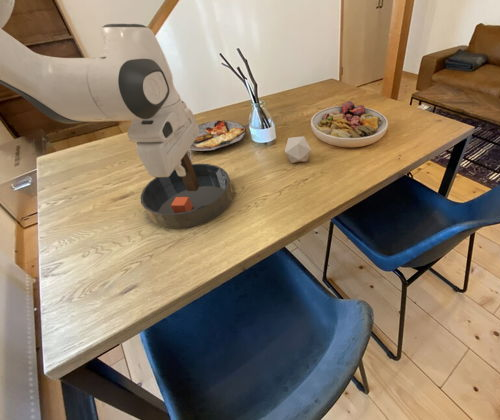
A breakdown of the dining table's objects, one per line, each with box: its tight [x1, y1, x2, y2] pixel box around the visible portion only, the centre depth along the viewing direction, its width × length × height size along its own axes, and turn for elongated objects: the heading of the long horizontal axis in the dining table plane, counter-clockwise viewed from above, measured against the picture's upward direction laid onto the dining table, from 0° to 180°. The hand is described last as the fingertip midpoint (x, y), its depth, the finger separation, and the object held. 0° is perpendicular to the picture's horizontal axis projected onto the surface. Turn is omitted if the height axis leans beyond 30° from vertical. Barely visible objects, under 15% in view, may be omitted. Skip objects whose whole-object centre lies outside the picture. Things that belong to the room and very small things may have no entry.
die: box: [284, 135, 312, 164], centre depth 93 cm, size 8×9×10 cm
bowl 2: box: [310, 100, 389, 148], centre depth 108 cm, size 30×30×8 cm
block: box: [171, 197, 193, 213], centre depth 74 cm, size 4×4×4 cm
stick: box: [181, 152, 200, 191], centre depth 66 cm, size 2×2×14 cm
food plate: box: [190, 119, 247, 151], centre depth 106 cm, size 25×23×4 cm
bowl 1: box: [139, 163, 234, 230], centre depth 79 cm, size 23×23×5 cm
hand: (186, 170), depth 67 cm, fingers closed on stick, 2 cm apart
